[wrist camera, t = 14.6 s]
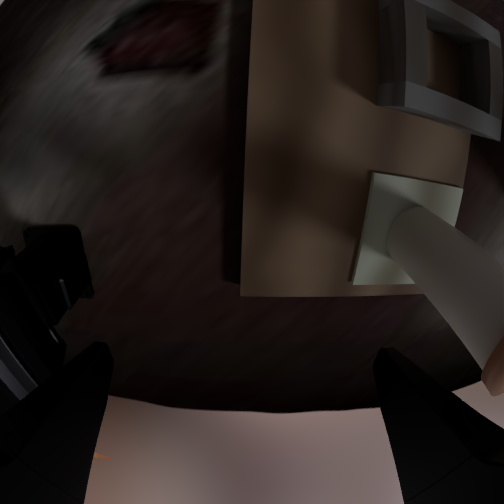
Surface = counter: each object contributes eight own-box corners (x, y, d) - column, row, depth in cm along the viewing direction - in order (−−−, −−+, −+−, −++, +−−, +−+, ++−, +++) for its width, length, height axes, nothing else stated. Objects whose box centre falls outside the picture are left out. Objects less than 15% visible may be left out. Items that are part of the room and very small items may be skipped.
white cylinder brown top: (370, 250, 19) (475, 395, 8) (408, 189, 17) (555, 294, 6) (413, 275, 21) (506, 396, 9) (448, 222, 19) (565, 321, 7)
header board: (240, 285, 23) (240, 327, 18) (253, -21, 12) (257, -56, 8) (424, 284, 23) (451, 316, 19) (461, 36, 13) (500, 30, 9)
